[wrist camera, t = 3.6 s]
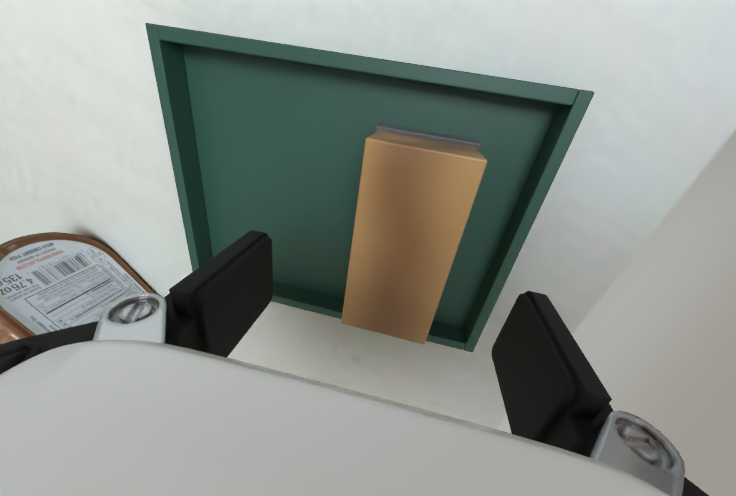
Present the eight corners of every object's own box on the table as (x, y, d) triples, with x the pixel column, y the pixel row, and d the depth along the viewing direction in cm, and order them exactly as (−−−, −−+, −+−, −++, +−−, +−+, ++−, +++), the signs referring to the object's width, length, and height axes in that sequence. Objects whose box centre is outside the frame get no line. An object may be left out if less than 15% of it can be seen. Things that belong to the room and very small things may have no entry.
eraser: (477, 139, 14) (496, 155, 10) (428, 295, 19) (427, 348, 15) (380, 122, 15) (360, 130, 11) (356, 278, 20) (336, 325, 15)
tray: (572, 92, 13) (595, 91, 11) (468, 330, 20) (472, 352, 19) (179, 32, 15) (144, 22, 13) (213, 267, 22) (194, 282, 21)
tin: (66, 227, 24) (-96, 284, 16) (83, 211, 22) (-85, 264, 15) (193, 351, 28) (110, 439, 21) (212, 343, 27) (131, 433, 20)
